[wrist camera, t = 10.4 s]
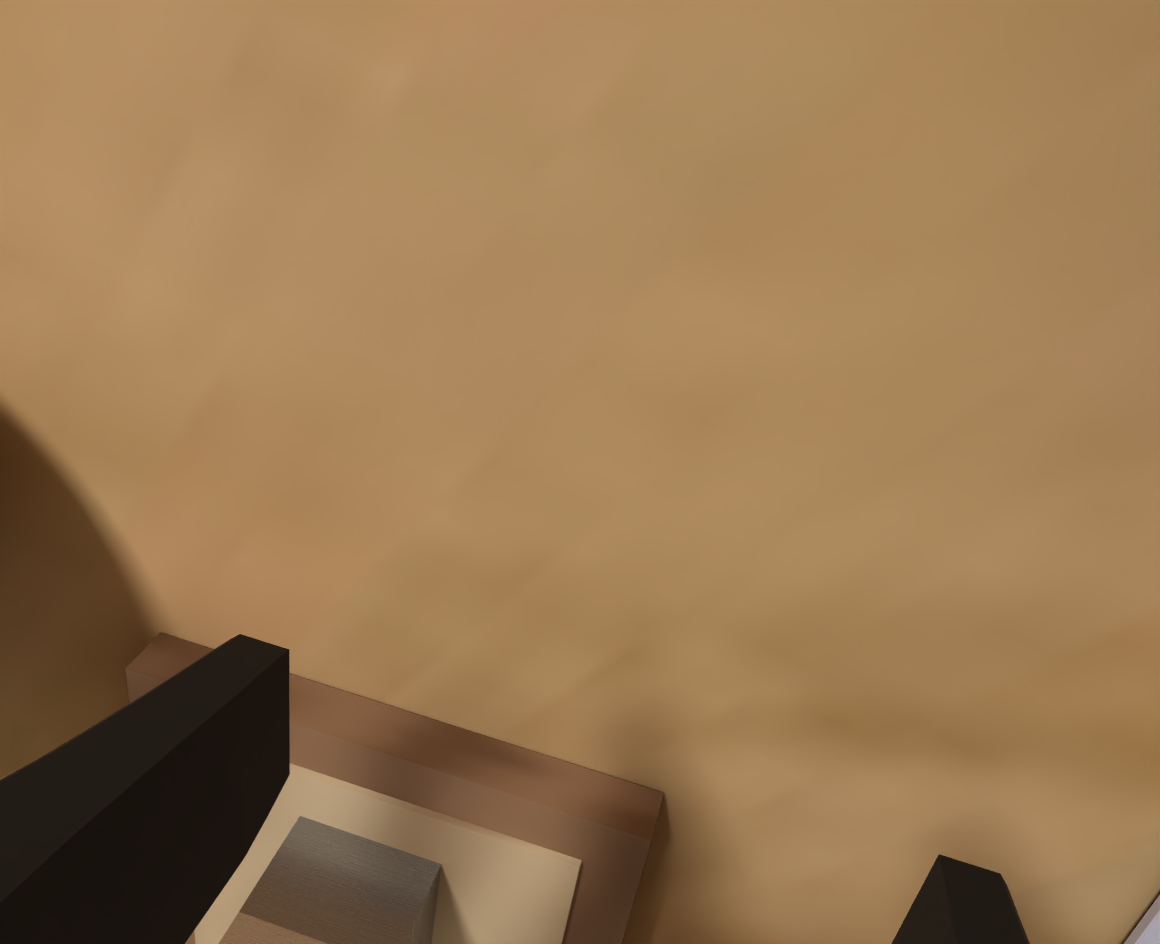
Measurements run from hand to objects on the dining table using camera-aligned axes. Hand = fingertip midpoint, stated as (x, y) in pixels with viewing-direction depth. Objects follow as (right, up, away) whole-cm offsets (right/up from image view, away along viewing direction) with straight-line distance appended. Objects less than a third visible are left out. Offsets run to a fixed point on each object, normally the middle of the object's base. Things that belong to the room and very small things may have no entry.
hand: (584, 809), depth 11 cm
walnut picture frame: (-6, -8, +19) cm, 22 cm away
